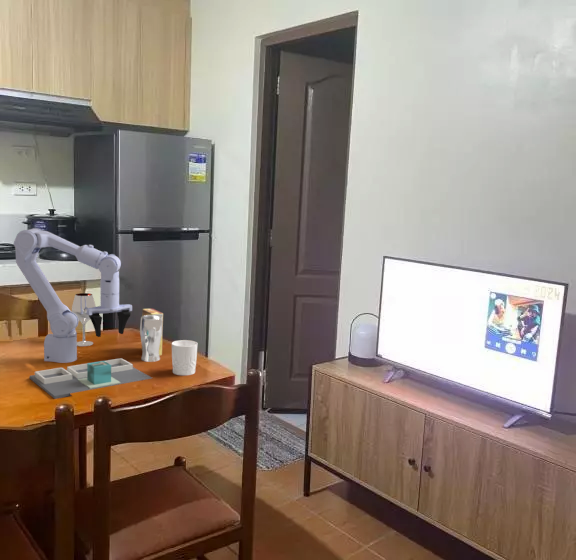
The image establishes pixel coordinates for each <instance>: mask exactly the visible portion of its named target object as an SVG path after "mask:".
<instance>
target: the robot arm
mask: <svg viewBox="0 0 576 560" xmlns="http://www.w3.org/2000/svg"><path fill="white" fill-rule="evenodd" d="M13 246H14V248H15V262H16V265H17V266H18V268H19V270H20V271H21V273H22V274H23V275H22V276H23V277H25V280H26V281H27V283H28V284H29V285H30V287H31V289H32V290H33V292H34V293H35V295H36V297H37V298H38V300H39V301H40V303H41V304H42V306H43V308H44V309H45V311H46V318H47V321H48V322H49V327H50V328H49V329H50V331H51V333H48V334H47V335H46V336H45V337H44V342H43V353H44V354H43V357H44V359H43V362H54V363H61V364H62V363H63V364H64V363H65V364H67V363H72V362H75V361H77V360H78V357H77V356H78V353H77V351H78V348H77V347H78V346H77V342H78V337H77V336H78V335H77V334H78V332H77V330H76V328H77V327H78V326H79V322H80V321H79V320H78V317H77V315H76V314H74V313H73V312H72V310H70V308H69V307H68V306H67V305H66V304H64V303H63V302H62V300H61V299H60V297H59V296H58V294H57V292H56V291H55V289H54V287H53V286H52V284H51V283H50V282H49V280H48V278H47V276H46V275H45V274H44V272H43V270H42V269H41V267H40V266H39V264H38V262H37V258H38V255H39V252H40V250H41V249H42V248H53V249H56V250H59V251H62V252H63V253H68V254H70V255H72V256H75V258H76V260H77V262H79V263H81V264H84V265H86V266H89V267H90V268H94V269H96V270H98V271H99V272H100V305H99V306H96V307H93V308H87V315H89V317H90V322H91V323H92V325H93V328H94V332H95V336H96V337H97V338H100V337H101V336H102V320H103V316H101V314H109V313H110V314H112V313H116V314H117V319H118V320H117V322H118V323H117V325H118V326H117V327H118V328H117V329H118V334H120V335H123V334H124V331H125V327H126V324H127V322H128V320H129V319H130V317H131V315H132V314H131V312H133V305H132V304H129V303H128V304H127V303H126V304H120V272H119V270H120V269H121V267H122V261H121V259H120V258H119V257H118V256H116V254H114V253H111V254H109V253H108V251H101V250H98V249H97V248H94V245H93V244H83V245H81V246H80V245H78V244H76V243H74V242H72V241H69V240H67V239H65V238H62V237H60V236H59V235H56V234H54V233H53V232H50V231H47V230H42V229H40V228H39V227H33V228H30V229H23V230H21V231H19V232H18V233H17V234H16V236H15V239H14V241H13Z"/></svg>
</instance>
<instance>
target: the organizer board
mask: <svg viewBox="0 0 576 560" xmlns="http://www.w3.org/2000/svg"><path fill="white" fill-rule="evenodd" d="M104 361H105V362H107V363H109V364H110V365H111V382H107V383H102V384H96V385H94V384H92V383H91V382H90V381H88V380H87V363H81V364H76V365H75V364H74V365H70V366H66V367H67V368H66V369H65V368H64V367H55V368H51V369H44V370H37V371H34V374H33V375H29V380H31V381H32V382H33V383H35V384H36V385H37V386H38V387H39V388H41V389H42V390H43V391H44V392H46V393H47V394H48V395H49V396H50V397H52V398H53V399H55V400H56V399H62V398H67V397H72V396H73V395H72V394H75V393H80V392H85V391H90V390H91V391H92V390H97V389H101V388H106V387H112V386H118V385H123V384H124V385H125V384H129V383H134V382H139V381H145V380H151V379H153V377H151V376H150V375H148V374H146V373H145V372H143V371H140V370H139V369H138V368H136V367H134V364H133V363H132V362H129V361H127V360H126V359H123V358H122V357H121V358H115V359H108V360H104Z"/></svg>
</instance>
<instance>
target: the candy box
mask: <svg viewBox="0 0 576 560" xmlns="http://www.w3.org/2000/svg"><path fill="white" fill-rule="evenodd" d="M144 315H158V316H161V320H162V335H161V341H160V346H159V356H162V355H163V332H164V331H163V330H164V326H163V325H164V313H163V312H161V311H159V310H156V309H155V308H142V316H144ZM142 316H141V317H142ZM141 351H142V352H143V350H142V349H141Z"/></svg>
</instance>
